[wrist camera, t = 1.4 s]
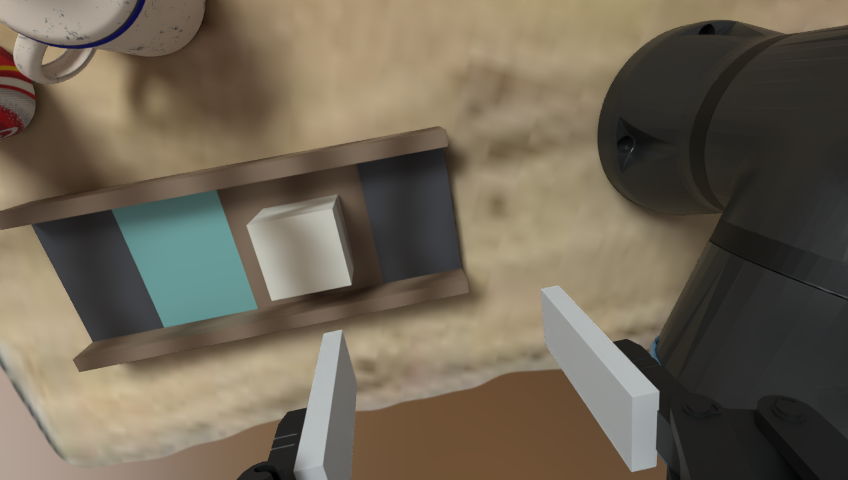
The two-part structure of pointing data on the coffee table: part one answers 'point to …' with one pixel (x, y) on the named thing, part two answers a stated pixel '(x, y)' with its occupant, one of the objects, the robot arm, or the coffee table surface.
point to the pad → (186, 257)
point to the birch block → (302, 247)
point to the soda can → (14, 97)
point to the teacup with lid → (95, 31)
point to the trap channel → (241, 201)
